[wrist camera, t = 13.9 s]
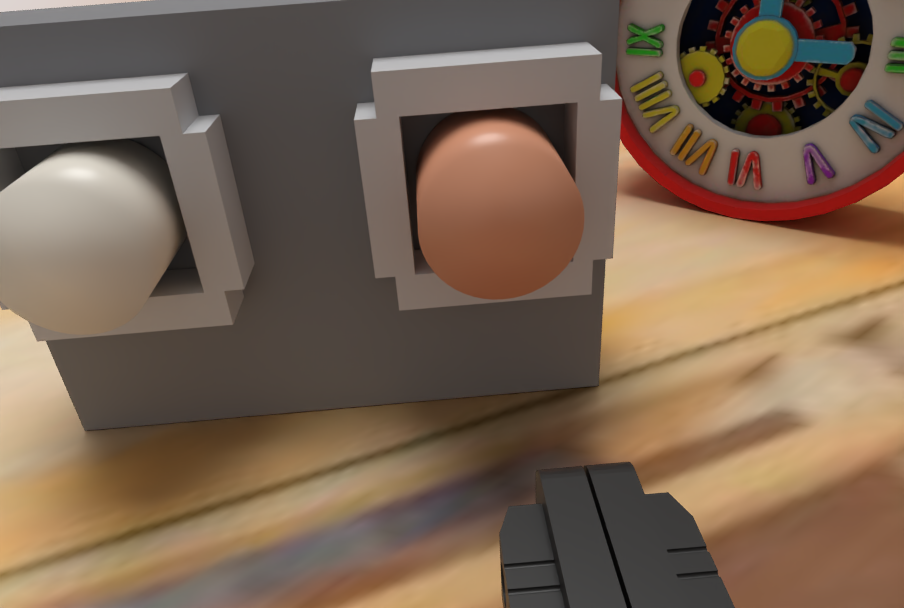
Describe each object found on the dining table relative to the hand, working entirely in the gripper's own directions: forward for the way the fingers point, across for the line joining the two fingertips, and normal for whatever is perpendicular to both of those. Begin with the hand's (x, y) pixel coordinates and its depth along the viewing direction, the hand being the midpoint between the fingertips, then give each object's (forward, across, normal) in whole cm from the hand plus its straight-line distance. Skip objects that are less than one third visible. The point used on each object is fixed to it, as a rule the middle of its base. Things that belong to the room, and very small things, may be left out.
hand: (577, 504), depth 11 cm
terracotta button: (+13, 0, +3) cm, 13 cm away
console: (+18, +6, +10) cm, 21 cm away
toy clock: (+34, -19, +10) cm, 40 cm away
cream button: (+13, +13, +3) cm, 19 cm away
